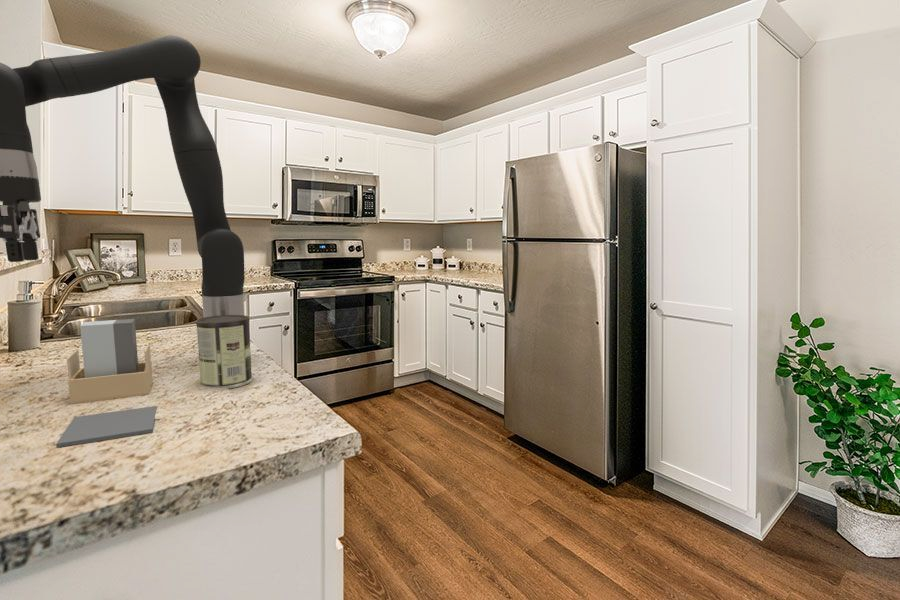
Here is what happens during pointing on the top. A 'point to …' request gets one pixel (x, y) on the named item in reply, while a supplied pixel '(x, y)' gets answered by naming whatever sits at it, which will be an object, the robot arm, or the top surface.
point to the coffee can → (224, 351)
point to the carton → (107, 382)
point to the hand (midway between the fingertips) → (24, 260)
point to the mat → (108, 426)
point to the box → (109, 347)
